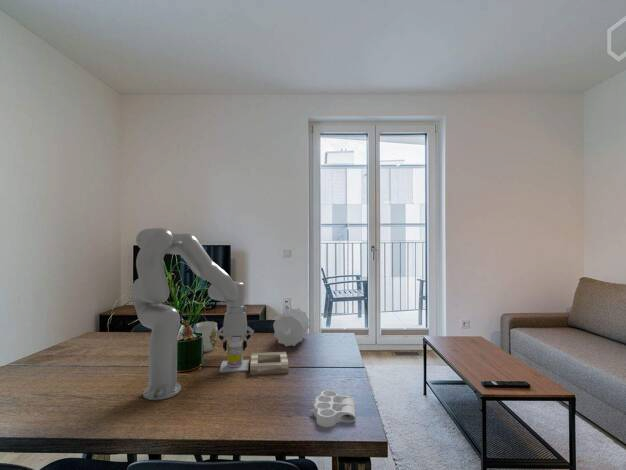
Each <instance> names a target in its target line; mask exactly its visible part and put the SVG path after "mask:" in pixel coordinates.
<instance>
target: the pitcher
mask: <svg viewBox="0 0 626 470" xmlns="http://www.w3.org/2000/svg"><path fill="white" fill-rule="evenodd" d="M195 327H196V330H195V333H202V336H203V345H204V352H203V353H205V352H206V353H207V352H212V351H213V350H214V349H215V347H216V345H217V342H218V338H219V337H218V336H217V334H216V332H217V331H218V322H215V321H200V322H198V323H196V324H195Z"/></svg>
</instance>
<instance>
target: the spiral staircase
mask: <svg viewBox="0 0 626 470" xmlns="http://www.w3.org/2000/svg"><path fill="white" fill-rule="evenodd" d="M309 324H310V318H309V317H308V316H307V312H305V311H303V310H300V308H293V307H290V308H289V309H287V310H286V311H285V310H283V312H282V313H279V317H276V318H275V320H274V322H273V324H272V325H273V326H272V327H273V331H274V334H273V336H274V337H275V338H276V339H277V340H278V341H277V343H278V344H282V345H284V346H285V347H289V346H290V347H291V346H293V347H295V346H296V345H297V344H299V343H302V341H303V339H304V337H306V334H307V332H308V330H309V328H310V325H309Z"/></svg>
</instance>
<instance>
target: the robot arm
mask: <svg viewBox="0 0 626 470" xmlns="http://www.w3.org/2000/svg"><path fill="white" fill-rule="evenodd" d="M135 238H136V239H135V240H136V241H135V242H136V245H137V246H138V248H139V251H138V253H137V256H136V261H135V266H136V272H137V277H138V278H137V279H135V280H134V282H132V283H133V284H132V286H131V298H132V301H133V304H134V305H133V306H134V309H135V312H136V315H137V318H138V321H139V322H140V324H141V325H142V326H143V327H146V328H147V329H151V334H150V337H149V341H148V369H147V370H148V372H147V373H148V377H147V379H148V380H147V382H148V384H147V388H145V389H144V390H143V392H142V396H143V398H144V399H146V400H149V401H161V400H167V399H169V398H172V397H174V396H177V394H179V393H180V392H181V391H182V386H181V384H180V383H178V381H177V379H178V377H177V376H178V337H179V336H178V335H179V328H180V324H181V323H180V322H181V315H180V313H179V311H178V310H177V309H176V308H175V307H173V306H171V305H168V304H163V303H165V302H166V301H167V300H168V299H169V298H170V287H169V283H168V279H167V275H166V272H165V268H164V258H165V255H176V256H177V255H179V256H180V257H181V258H182V259H183V260H184V261H185V263H186V264H187V266H188V267H189V269H190V270H191V271H192V272H193V274H195V276H198V277H199V278H201V279H203V280H205V281H207V282H209V283H210V284H211V285H209V287H208V288H207V289H208V290H207V294H208V297H209V298H210V299H212V300H214V301H218V302H224V303H226V312H225V313H224V318H223V325H222V327H221V328H220V329H219V330H218V331H217V332H216V334H217V336H218V337H217V338H219V339H220V341H222V349H223V350H224V352H226V351H228V341H227V339H228V338H229V337H231V336H241V338H242V339H243V340H242V342H243V352H244V351H246V349H247V348H248V340H249V339H250V338H251V337H252V336H253V334H254V333H255V330H254V329H252V328H251V327H249V326H248V317H247V311H248V307H247V306H246V305H245V283H244V282H242V281H234V280H233V279H232V277H231V276H230V275H229V274H228V273H227V272H226V271H225V270H224V269H223V268H221V267H220V266H219V265H218V264H217V263H215V262H214V261H213V259H212V258H211V257H210V255H209V254H208V253H207V251H206V250H205V248H204V247H203V245H202V244H201V243H200V242H199V240H198V239H197V237H196V236H195V235H193V234H191V233H174V232H173V233H172V231H170V230H169V229H166V228H163V227H156V228H154V227H153V228H145V229H142V230H140V231H139V232H138V233H137V235H136V237H135ZM247 332H249V333H248V334H247ZM222 334H223V335H222Z"/></svg>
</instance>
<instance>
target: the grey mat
mask: <svg viewBox="0 0 626 470" xmlns="http://www.w3.org/2000/svg"><path fill="white" fill-rule="evenodd" d="M219 367H220V368H219V370H218V373H235V372H236V373H237V372H249V369H250V359H243V364H242V365H241V366H239V367H229V366H228V365H227V360H222V362H221V364H220V366H219Z"/></svg>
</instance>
